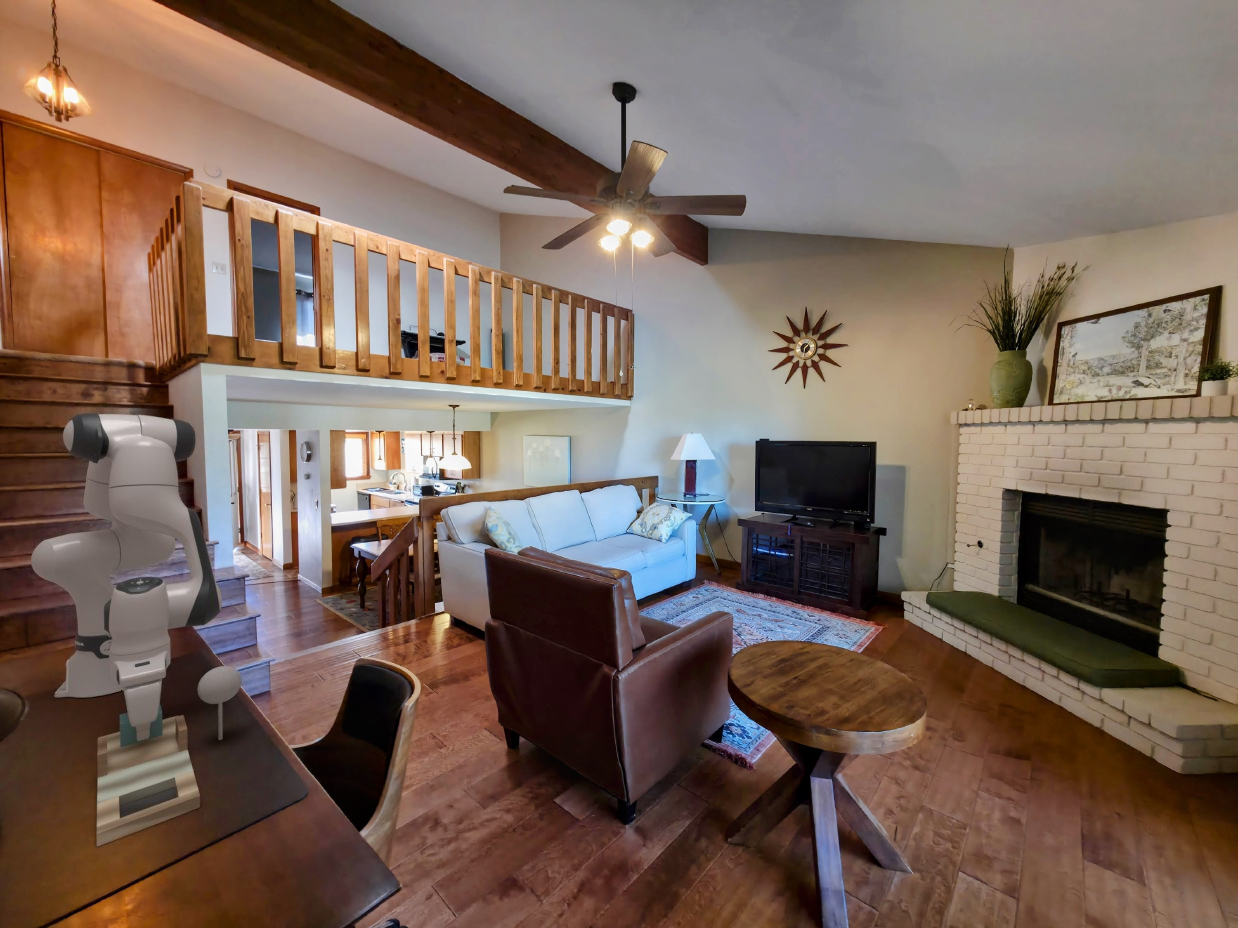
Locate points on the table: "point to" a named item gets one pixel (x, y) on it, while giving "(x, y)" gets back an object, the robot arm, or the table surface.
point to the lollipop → (219, 689)
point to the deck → (144, 781)
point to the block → (129, 732)
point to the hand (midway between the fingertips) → (141, 728)
